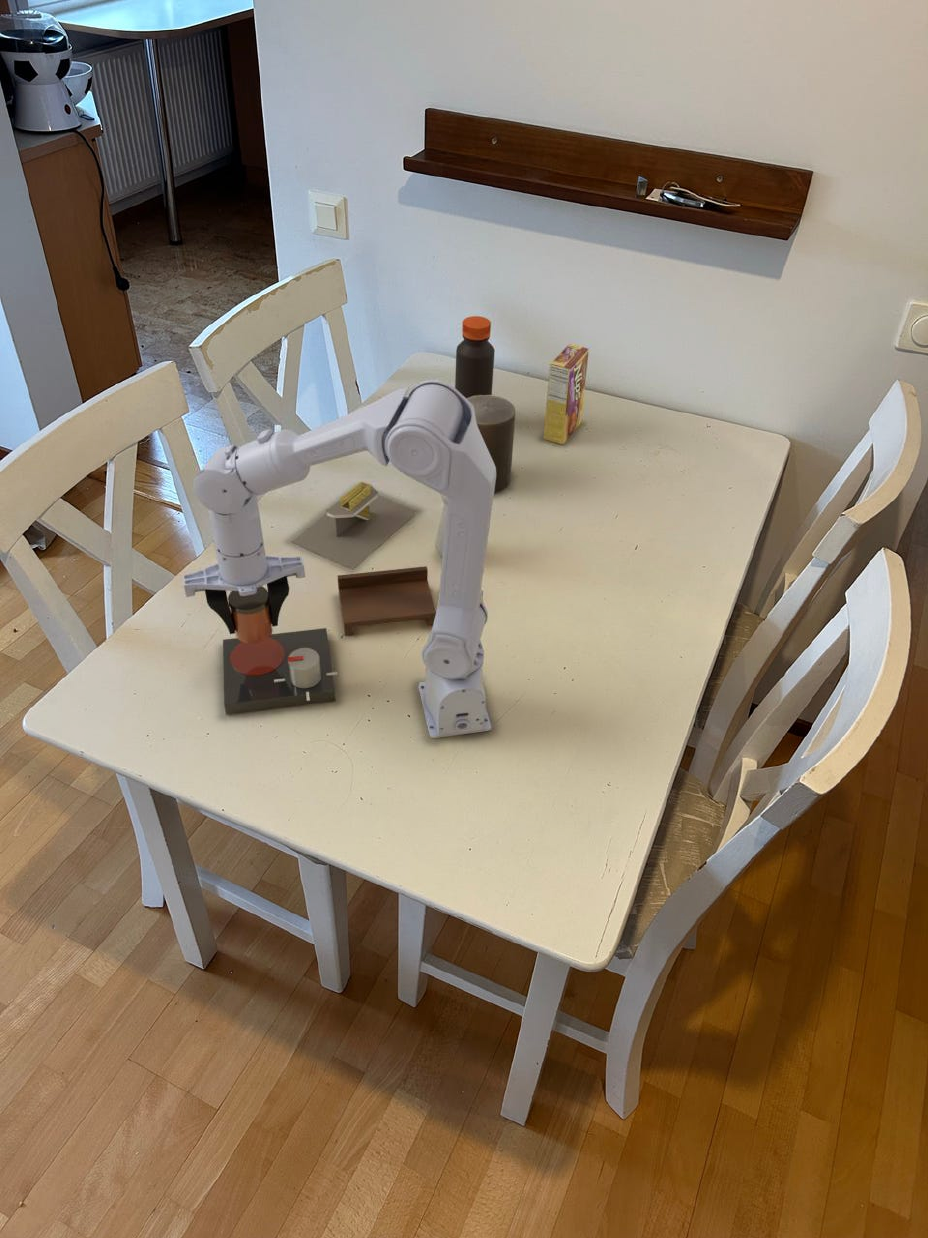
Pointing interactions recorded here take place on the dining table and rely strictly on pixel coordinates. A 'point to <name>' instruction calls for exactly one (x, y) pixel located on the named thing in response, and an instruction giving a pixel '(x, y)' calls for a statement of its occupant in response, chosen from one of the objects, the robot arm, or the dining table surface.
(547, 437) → the candy box
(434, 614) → the spice shelf
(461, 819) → the dining table surface
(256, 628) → the jar
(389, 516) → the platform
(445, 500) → the salt shaker
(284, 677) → the hob
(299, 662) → the hob knob
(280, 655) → the disc
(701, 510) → the dining table surface
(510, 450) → the pillar candle
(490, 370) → the bottle
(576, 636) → the dining table surface
